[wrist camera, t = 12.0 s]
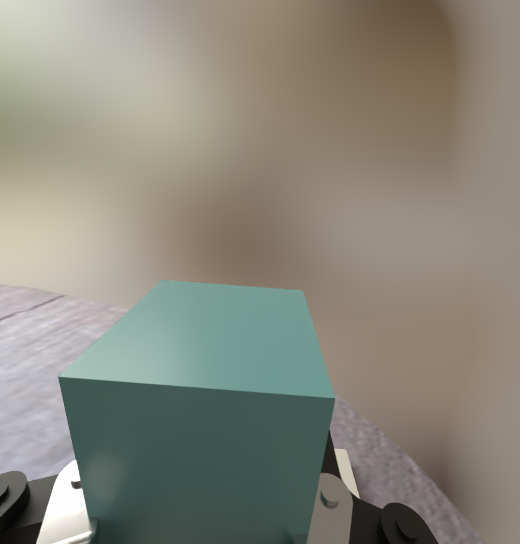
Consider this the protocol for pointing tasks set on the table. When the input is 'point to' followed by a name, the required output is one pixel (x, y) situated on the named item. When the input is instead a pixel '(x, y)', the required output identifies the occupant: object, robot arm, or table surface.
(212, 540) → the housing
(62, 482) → the robot arm
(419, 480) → the table surface
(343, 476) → the stub base
